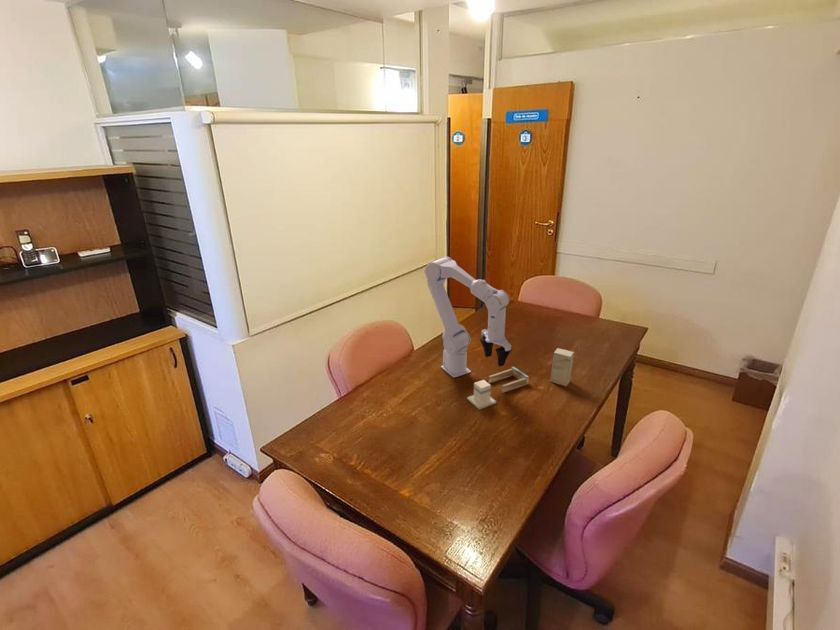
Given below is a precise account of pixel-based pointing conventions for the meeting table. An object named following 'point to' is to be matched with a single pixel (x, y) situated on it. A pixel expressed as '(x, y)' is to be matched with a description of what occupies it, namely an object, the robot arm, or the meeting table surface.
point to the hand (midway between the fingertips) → (494, 360)
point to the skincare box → (562, 366)
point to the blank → (482, 391)
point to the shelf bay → (507, 373)
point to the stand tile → (482, 405)
